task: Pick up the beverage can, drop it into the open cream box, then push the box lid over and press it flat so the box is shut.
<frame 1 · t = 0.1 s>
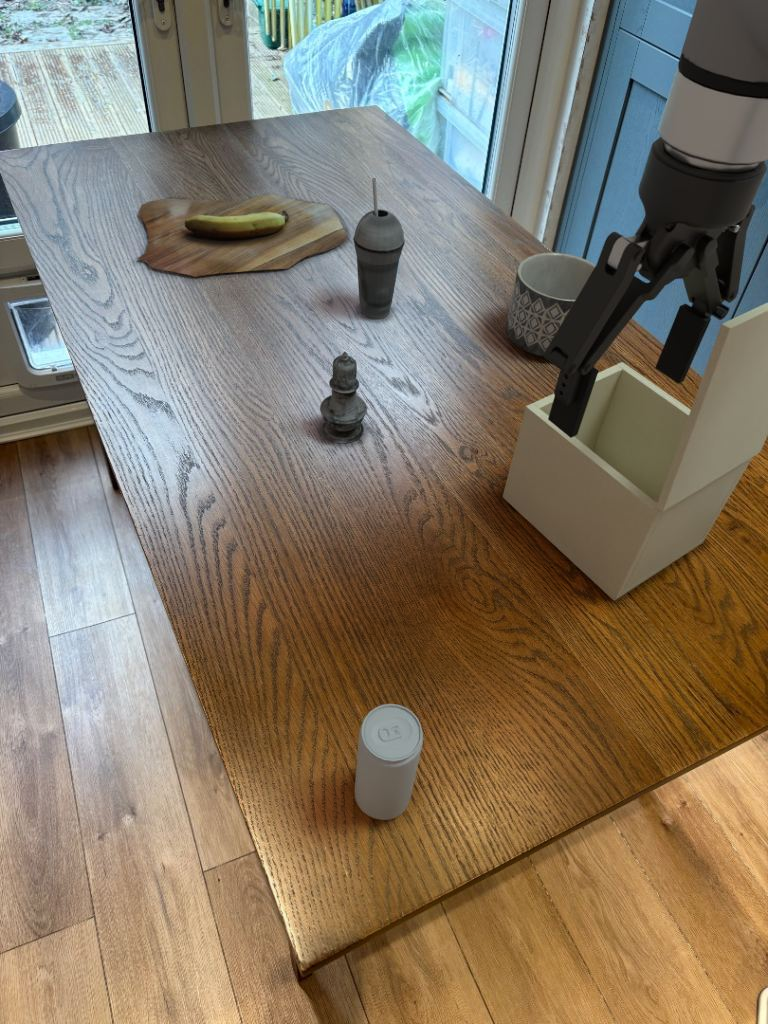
hand: (618, 400, 65), 24 cm above the table, tool pointing down, fingers open, 13 cm apart
cutting board: (242, 233, 128), on the table
cream box: (600, 519, 88), on the table
chess piece: (343, 430, 96), on the table
planter: (546, 339, 112), on the table
beverage can: (382, 795, 65), on the table
box lid: (743, 397, 66), point 24 cm above the table, hinge at 85.0°
beverage cup: (374, 312, 114), on the table
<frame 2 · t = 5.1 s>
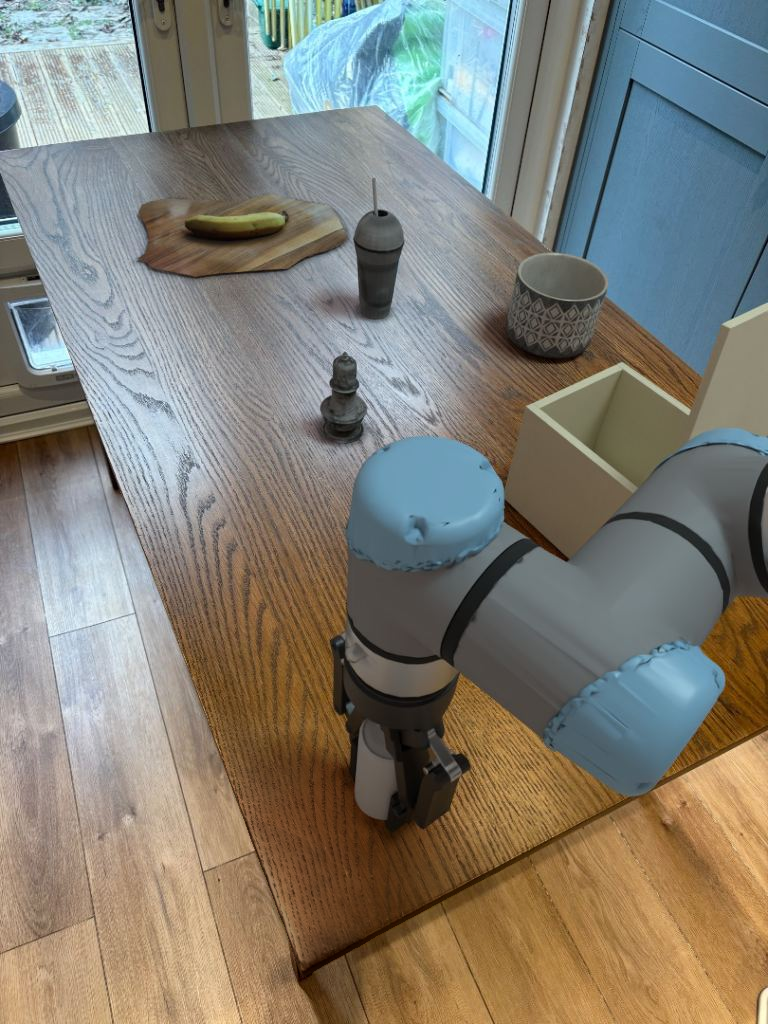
hand: (382, 793, 64), 0 cm above the table, tool pointing down, fingers closed on beverage can, 5 cm apart
beverage can: (382, 795, 65), on the table, touching gripper
everything else where it was.
when the fingers open (10 cm above the table, at t = 15.7 s): beverage can drops 8 cm, resting on cream box.
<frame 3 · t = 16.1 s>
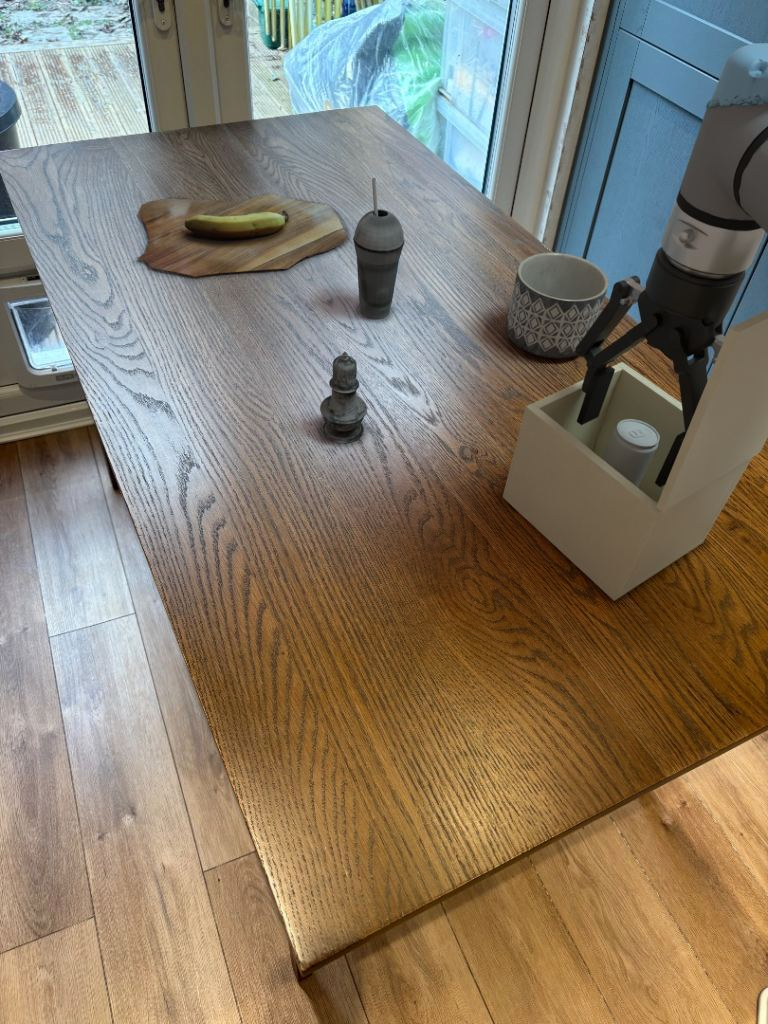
hand: (625, 448, 80), 11 cm above the table, tool pointing down, fingers open, 10 cm apart
beverage can: (600, 515, 87), point 1 cm above the table, touching cream box
box lid: (746, 399, 66), point 24 cm above the table, hinge at 87.2°
everything else where it was.
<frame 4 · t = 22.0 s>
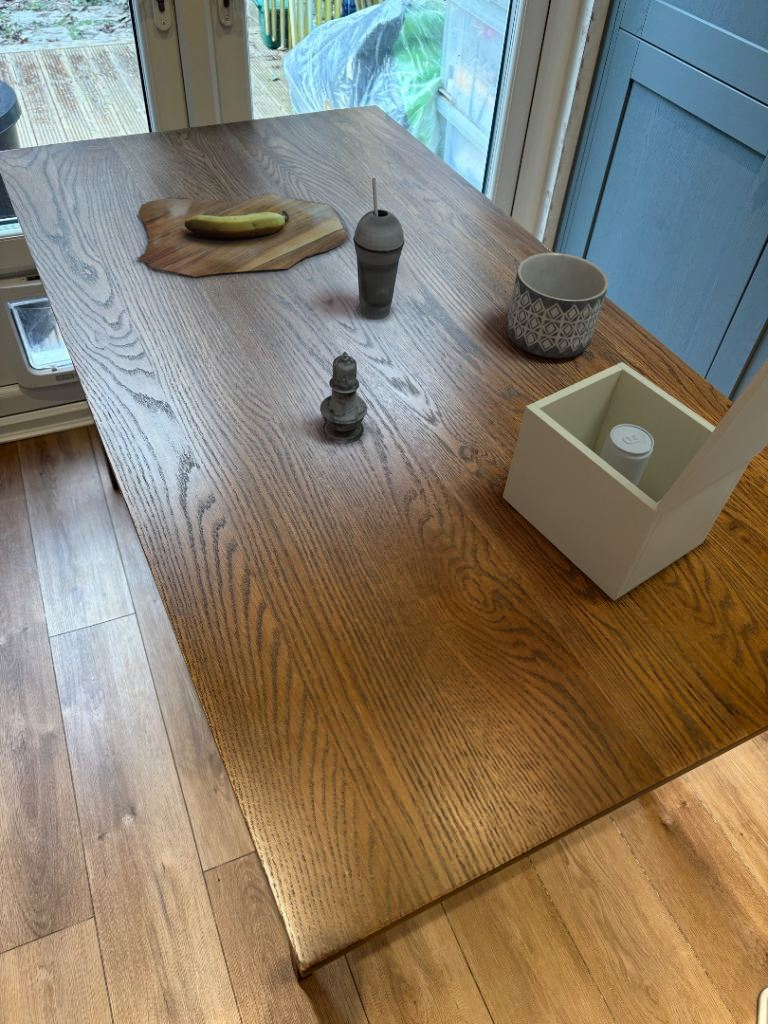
box lid: (764, 412, 65), point 24 cm above the table, hinge at 98.1°, touching gripper
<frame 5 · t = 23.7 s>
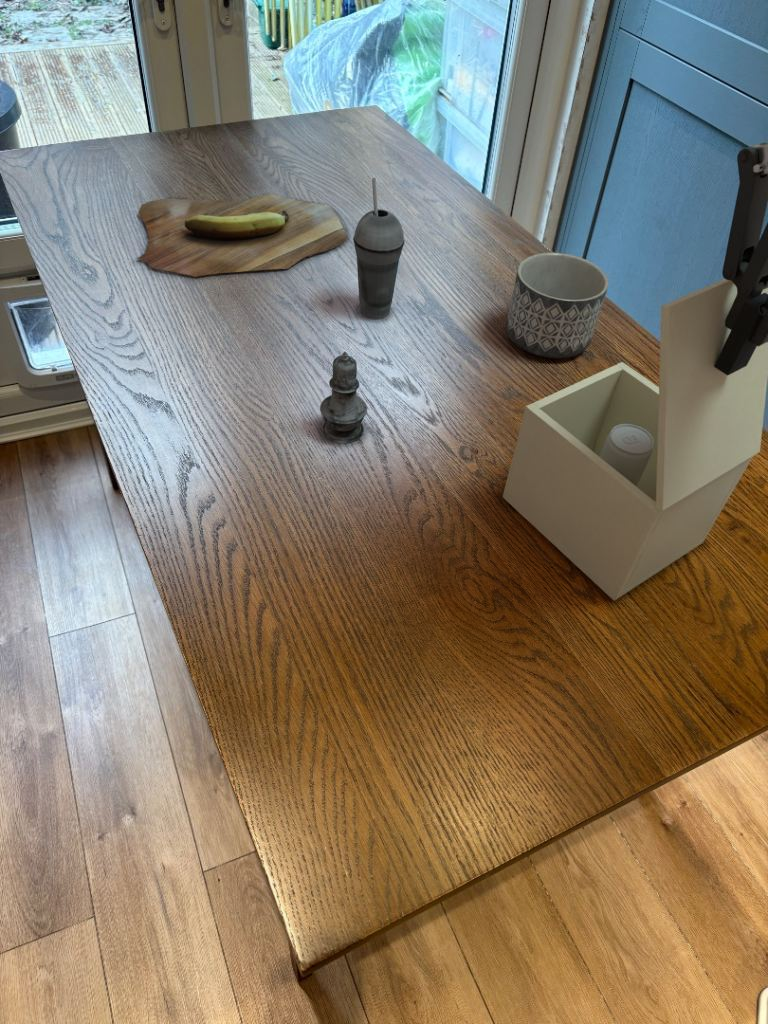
hand: (730, 366, 66), 26 cm above the table, tool pointing down, fingers closed
box lid: (716, 387, 68), point 23 cm above the table, hinge at 68.5°, touching gripper
everything else where it was.
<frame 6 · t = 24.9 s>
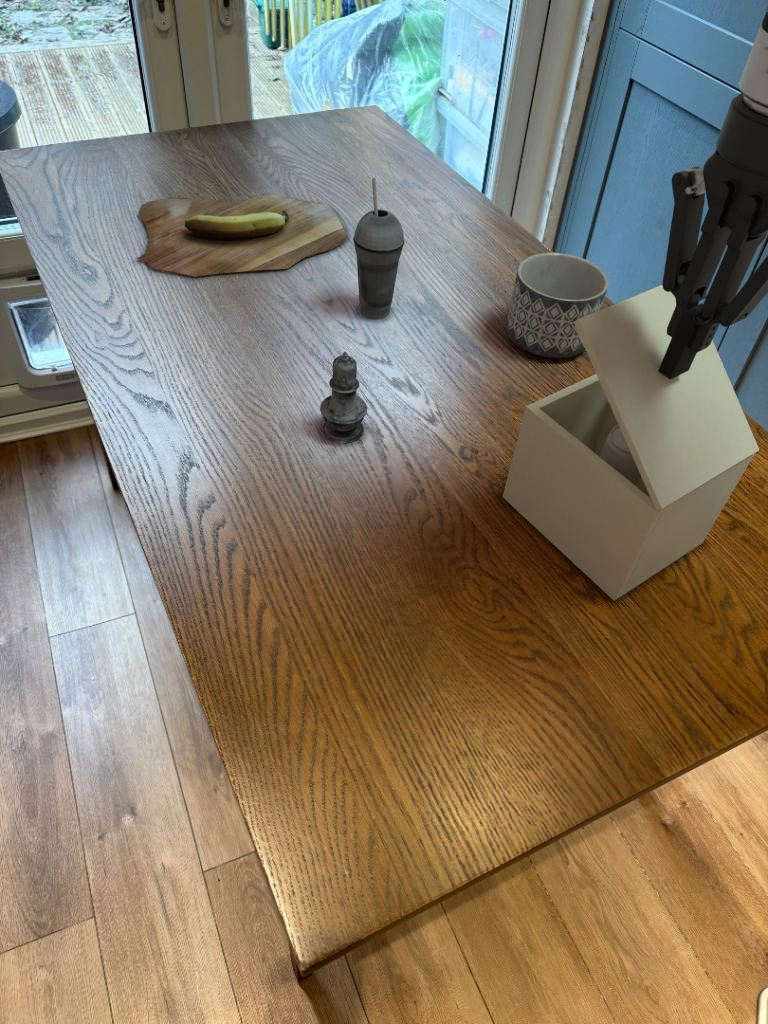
hand: (673, 370, 71), 22 cm above the table, tool pointing down, fingers closed
box lid: (670, 389, 72), point 20 cm above the table, hinge at 38.5°, touching gripper
everything else where it was.
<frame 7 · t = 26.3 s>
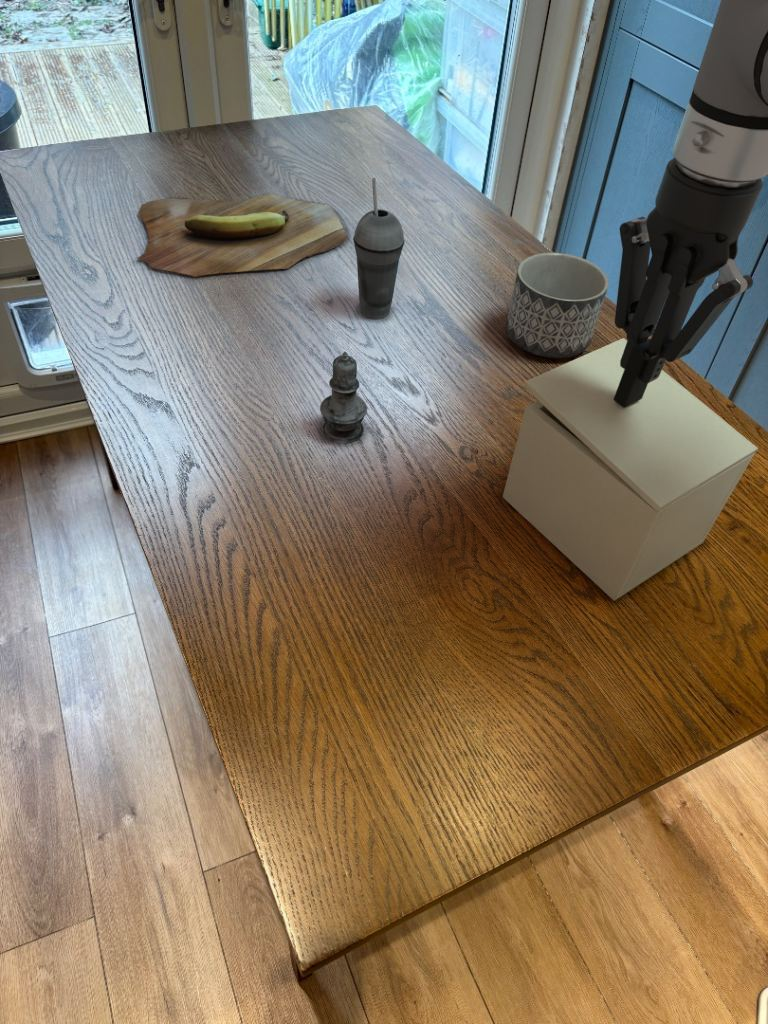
hand: (627, 399, 77), 16 cm above the table, tool pointing down, fingers closed
box lid: (638, 416, 77), point 15 cm above the table, hinge at 5.6°, touching gripper
everything else where it was.
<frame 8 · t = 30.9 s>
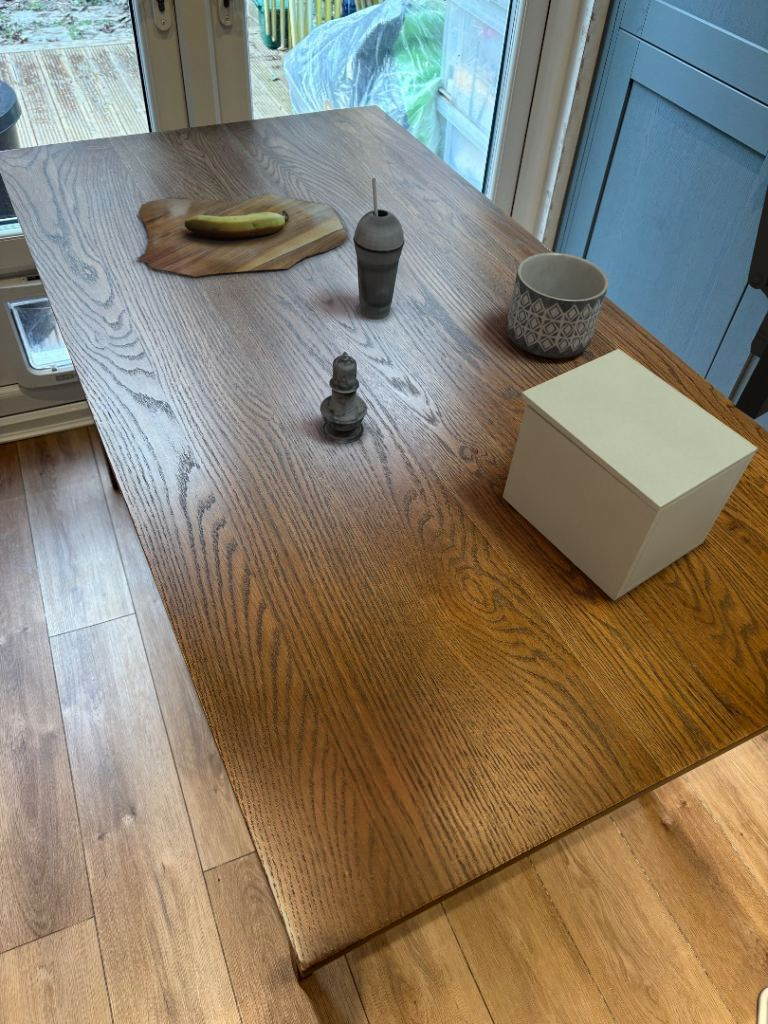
hand: (757, 405, 48), 34 cm above the table, tool pointing down, fingers closed
box lid: (636, 422, 77), point 15 cm above the table, hinge at 1.0°
everything else where it was.
at the end: beverage can inside the target area in the cream box (0.5 cm from its centre), point 0.8 cm above the cream box's base; box lid at +1° (first picture: +85°) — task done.
